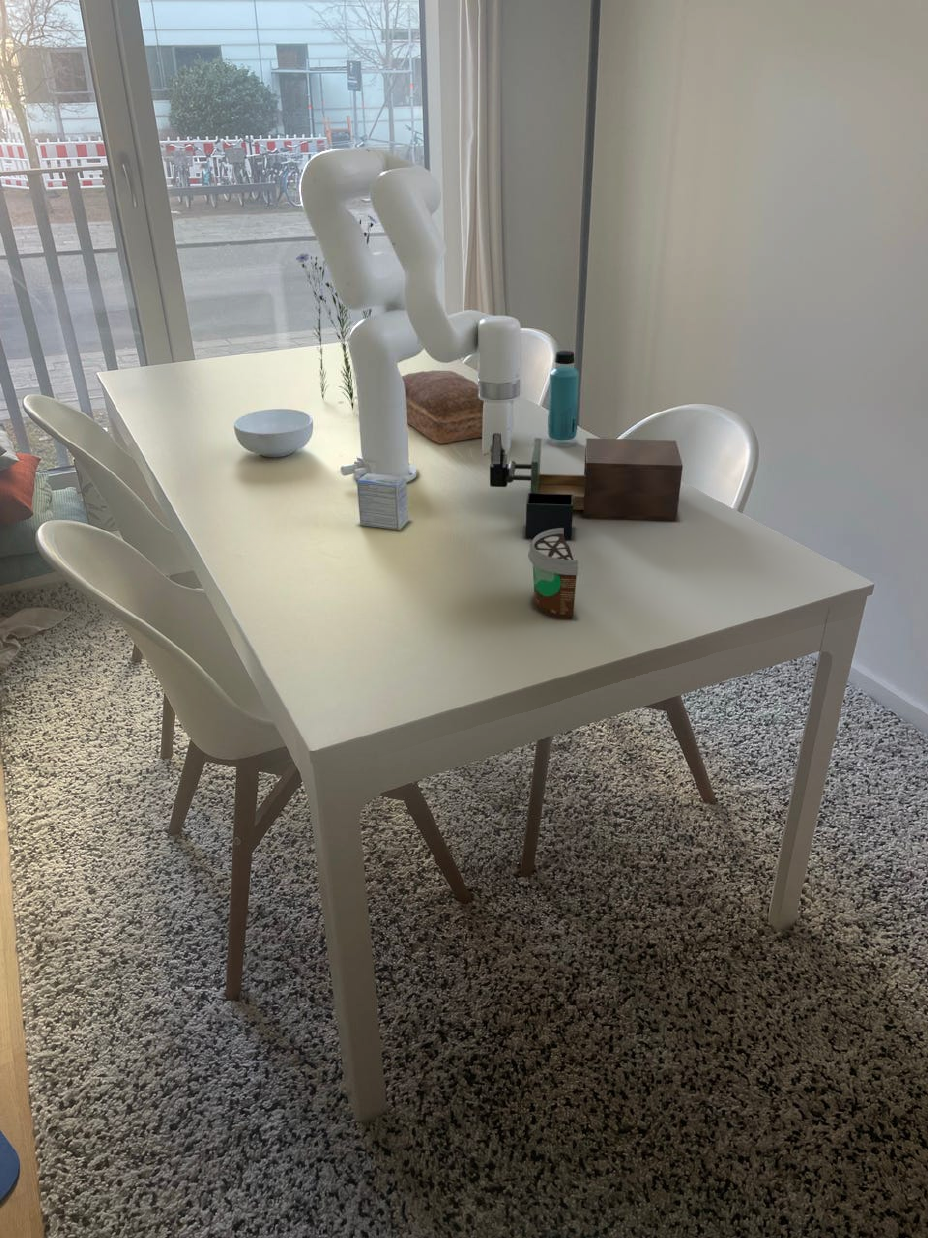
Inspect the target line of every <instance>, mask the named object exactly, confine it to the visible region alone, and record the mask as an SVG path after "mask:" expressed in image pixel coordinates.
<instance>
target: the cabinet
mask: <svg viewBox="0 0 928 1238" xmlns="http://www.w3.org/2000/svg"><path fill="white" fill-rule="evenodd" d="M584 451H585V452H584V467H583V475H586V476H585V493H584V510H582V518H583V519H601V520H603V519H606V520H607V519H608V520H629V521H630V520H632V521H636V520H637V521H658V522H660V521H661V522H677V519H678V510H679V503H680V493H681V484H682V477H683V475H682V474H683V467H684V465H683V461H682V458H681V455H680V454H681V453H680V450H679V447H678V443H677V441H676V440H668V439H667V440H664V439H663V440H661V439H629V438H625V439H624V438H591V437H590V438H588V437H587V438H586V437H585V450H584Z"/></svg>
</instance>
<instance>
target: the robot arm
mask: <svg viewBox="0 0 928 1238" xmlns="http://www.w3.org/2000/svg"><path fill="white" fill-rule="evenodd" d="M299 197H300V203H301V207H302V210H303V212H304V215H305V217H306V219H307V222H308V224H309V226H310V227H311V230H312V232H313V233H314V236H315V238H316V240H317V243H318V245H319V248H320V251H321V255H322V257H323V261H324V262H325V263H324V264H326V265H325V266H326V268H327V270H328V273H329V277H330V279H331V281H332V284H333V288H334V290H335V293H337V295H338V300H339V302H340V304H343V308H344V307H345V309H348V310H347V311H349V312H363V311H364V312H365V310H366V311H367V310H369V309H371V310H373V309H375V308H377V310H378V313H377V314H375V315H370V316H371V317H370V316H368V318H367V317H366V319H365V318H363V319H361V320H360V321H359V322H357V323H356V324H355V325H354V326H353V327H352V329H351V330H350V332H349V335H348V336H349V337H348V338H349V339H348V340H347V341H348V343H347V347H348V353H349V356H350V360H351V365H352V367H353V368H352V369H353V370H354V372H353V373H354V377H355V389H356V398H357V409H358V411H357V412H358V424H359V425H358V426H359V440H360V455H357V456H356V460H355V461H354V462H353V463H352V464H346V465H342V466H341V467H340V472H341V474H342V476H344V477H345V476H350V475H354V477H355V479H356V480H357V481H358V480H359V479H360V478H361V477H363V476H364V475H365V474H367V473H370V474H379V475H389V476H397V477H405V478H406V484H407V483H409V482H411V481H413V480H415V478H416V477H417V475H418V469H417V467H416V466H415V465H414V464H412V463H410V459H409V436H408V423H407V410H406V391H405V385H404V381H403V378H402V376H403V375H402V374H401V371H400V369H399V365H398V364H399V363H402V362H403V361H406V360H409V359H411V358H414V357H416V356H418V355H419V354H421V353H422V352H423V350H425V352H426V353H427V354H428V355H429V357H431V359H433V360H434V361H436V362H439V363H442V364H443V363H444V364H448V363H453V362H456V361H457V360H461V359H463V358H465V357H468V356H471V355H475V354H477V381H478V382H477V383H478V384H477V385H478V398H479V399H480V400H483V401H484V405H483V437H481V438H482V439H481V440H482V443H481V449H482V450H481V454H482V455H483V456H486V455H489V452H490V466H489V486H490V487H493V488H507V486H508V483H509V482H507V481H506V476H507V471H508V466H509V463H508V455H509V453H510V449H511V444H512V439H513V427H514V402H515V401H517V400H519V399H520V398H521V363H522V362H521V358H522V357H521V353H522V350H521V349H522V326H521V322H520V321H519V319H517V318H515V317H513V316H509V315H492V314H488V313H485V312H482V311H479V310H474V309H467V310H466V309H465V310H463V311H460V312H456V313H452V314H449V315H448V313H447V311H446V309H445V308H444V305H443V303H442V300H441V298H440V295H439V292H438V286H437V285H438V284H437V276H438V273H439V268H440V267H441V265H442V262H443V261H444V259H445V258H446V256H447V252H448V249H447V245H446V243H445V241H444V239H443V237H442V234H441V233H440V231H439V229H438V227H437V225H436V223H435V221H434V219H433V216H432V215H433V214H434V213H436V212H437V210H438V208H439V207H440V204H441V199H442V193H441V187H440V184H439V182H438V180H437V178H436V177H435V175H434V174H433V173H432V172H431V171H430V170H428V169H427V168H425V167H424V166H421V165H419V164H417V163H415V162H412V161H409V160H408V159H405V158H402V157H400V156H397V155H395V154H392V153H391V152H388V151H386V150H382V149H380V148H376V147H371V146H370V147H369V146H367V147H365V146H364V147H347V148H345V147H344V148H343V147H342V148H334V149H333V148H332V149H328V150H324V151H321V152H319V153H317V154H315V155H314V156H312V157H311V158H310V159H309V160H308V161H307V163H306V164H305V166H304V168H303V170H302V172H301V177H300V180H299ZM368 199H369V201H370V202H369V203H370V204H371V208H372V209H373V211H374V213H375V216H376V217H377V219H378V221H379V224H380V225H381V228H382V229H383V231H384V234H385V235H386V237H387V239H388V241H389V243H390V245H391V247H392V249H393V251H394V253H395V254H392V253H391V252H386V251H378V252H372V251H371V249H370V246H369V243H368V244H367V238H366V236H364V233H365V232H364V230H363V228H362V225H360V223H359V221H358V220H357V218H356V217H355V216H354V214H353V213H352V212H351V211H350V210H349V209H348V207H347V203H348V202H353V201H355V202H356V201H362V200H368Z"/></svg>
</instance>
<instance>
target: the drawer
mask: <svg viewBox="0 0 928 1238" xmlns="http://www.w3.org/2000/svg"><path fill="white" fill-rule="evenodd" d="M541 449H542V438H539V437H537V438H536V437H535V438H534V439H533V448H532V456H531V462H530V463H517V462H516V461H514V460H510V461H509V462H508V471H507V476H506V481H507V482H508V483H510V484H511V483H513V482H514V481H529V482H530V493H543V494H573V510H576V511H578V510H579V511H583V510H584V493H585V476H586V475H584V474H567V473H566V474H564V473H563V474H562V473H560V474H559V473H541V452H542V450H541ZM516 470H530V474H527V475H526V474H516Z"/></svg>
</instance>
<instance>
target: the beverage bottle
mask: <svg viewBox="0 0 928 1238" xmlns="http://www.w3.org/2000/svg"><path fill="white" fill-rule="evenodd" d="M554 363H556V364H558V365H559V364H560V365H559V366H555V367H554V368H553V369H552V370H551V371H550V373H549V398H548V414H547V415H548V416H547V428H548V429H547V431H548V437H549V438H550V439H552V440H556V441H572V440H574V439H576V437H577V433H578V418H579V417H578V411H579V376H580V373H579V371H578V369H576V368H575V367H573V366H570V365H572V364H575V352H574V351H571V350H559V351H557V352H555V358H554Z"/></svg>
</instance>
